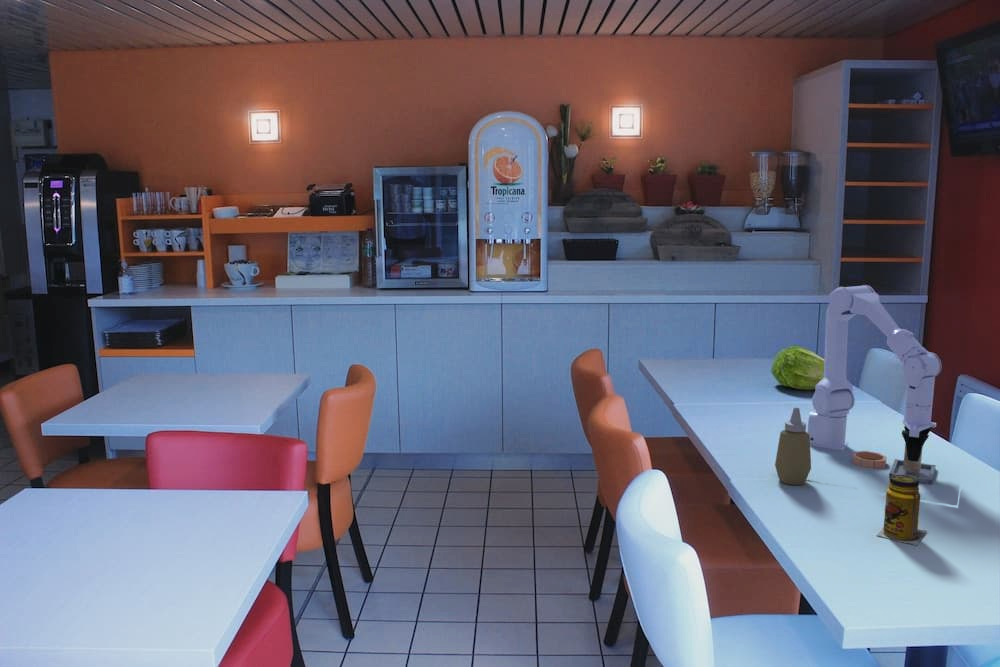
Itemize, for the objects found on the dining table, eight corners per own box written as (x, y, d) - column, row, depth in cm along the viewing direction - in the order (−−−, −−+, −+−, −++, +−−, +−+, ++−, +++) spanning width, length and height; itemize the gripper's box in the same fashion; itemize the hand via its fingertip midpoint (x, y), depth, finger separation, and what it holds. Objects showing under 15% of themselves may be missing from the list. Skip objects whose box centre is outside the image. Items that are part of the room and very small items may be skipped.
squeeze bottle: (793, 489, 183) (797, 414, 180) (766, 478, 190) (770, 406, 187) (817, 483, 187) (822, 409, 184) (790, 473, 194) (795, 401, 191)
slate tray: (888, 479, 189) (889, 473, 189) (894, 464, 199) (894, 459, 199) (931, 486, 185) (932, 480, 184) (935, 471, 195) (935, 465, 194)
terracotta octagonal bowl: (850, 466, 199) (851, 457, 198) (855, 457, 205) (855, 449, 204) (883, 471, 195) (884, 462, 194) (887, 462, 201) (887, 454, 201)
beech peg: (903, 470, 191) (905, 438, 190) (904, 466, 194) (907, 434, 193) (919, 472, 190) (922, 440, 188) (920, 468, 192) (923, 436, 191)
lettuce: (828, 395, 286) (838, 413, 271) (764, 371, 287) (771, 387, 272) (847, 359, 281) (859, 375, 266) (782, 335, 282) (790, 349, 267)
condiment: (876, 536, 159) (881, 479, 156) (888, 522, 165) (892, 467, 163) (916, 546, 154) (921, 487, 152) (926, 532, 160) (932, 475, 158)
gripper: (935, 413, 181) (930, 469, 183) (939, 399, 193) (934, 452, 195) (901, 408, 184) (896, 464, 187) (907, 395, 197) (902, 447, 199)
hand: (913, 458), depth 191 cm, fingers closed on beech peg, 3 cm apart
